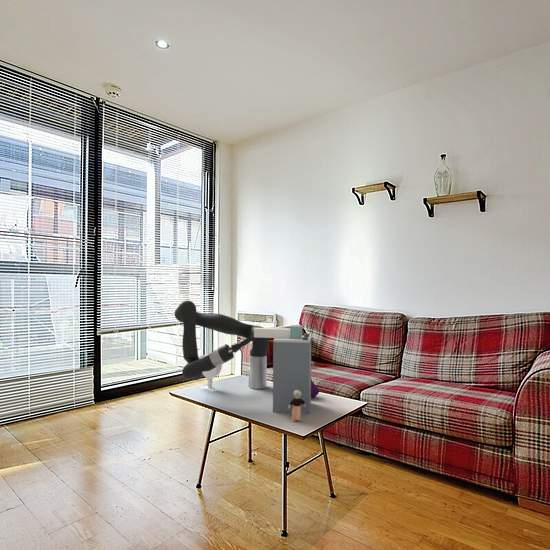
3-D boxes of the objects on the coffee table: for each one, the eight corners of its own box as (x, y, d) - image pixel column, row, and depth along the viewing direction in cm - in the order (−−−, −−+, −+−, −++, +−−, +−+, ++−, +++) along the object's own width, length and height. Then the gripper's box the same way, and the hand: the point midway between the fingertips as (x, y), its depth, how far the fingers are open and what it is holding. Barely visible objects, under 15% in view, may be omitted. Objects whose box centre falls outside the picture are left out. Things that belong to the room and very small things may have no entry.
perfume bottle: (299, 397, 204) (299, 361, 204) (308, 394, 209) (308, 359, 209) (311, 400, 199) (311, 363, 199) (320, 397, 204) (320, 361, 204)
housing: (272, 411, 180) (273, 337, 181) (277, 401, 196) (278, 332, 197) (309, 413, 178) (309, 337, 179) (310, 403, 194) (311, 333, 195)
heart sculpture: (222, 390, 215) (223, 356, 215) (215, 392, 211) (215, 357, 212) (204, 385, 226) (204, 352, 226) (197, 387, 222) (197, 354, 222)
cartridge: (253, 337, 188) (253, 325, 188) (255, 335, 193) (255, 324, 193) (301, 338, 185) (301, 326, 185) (302, 337, 190) (302, 325, 190)
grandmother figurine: (291, 423, 166) (291, 392, 166) (287, 420, 170) (287, 389, 170) (307, 420, 169) (307, 390, 170) (303, 417, 173) (303, 388, 173)
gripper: (213, 351, 186) (243, 333, 184) (221, 346, 200) (249, 330, 198) (221, 365, 185) (251, 348, 183) (229, 359, 199) (257, 343, 197)
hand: (250, 339), depth 191 cm, fingers open, 8 cm apart
